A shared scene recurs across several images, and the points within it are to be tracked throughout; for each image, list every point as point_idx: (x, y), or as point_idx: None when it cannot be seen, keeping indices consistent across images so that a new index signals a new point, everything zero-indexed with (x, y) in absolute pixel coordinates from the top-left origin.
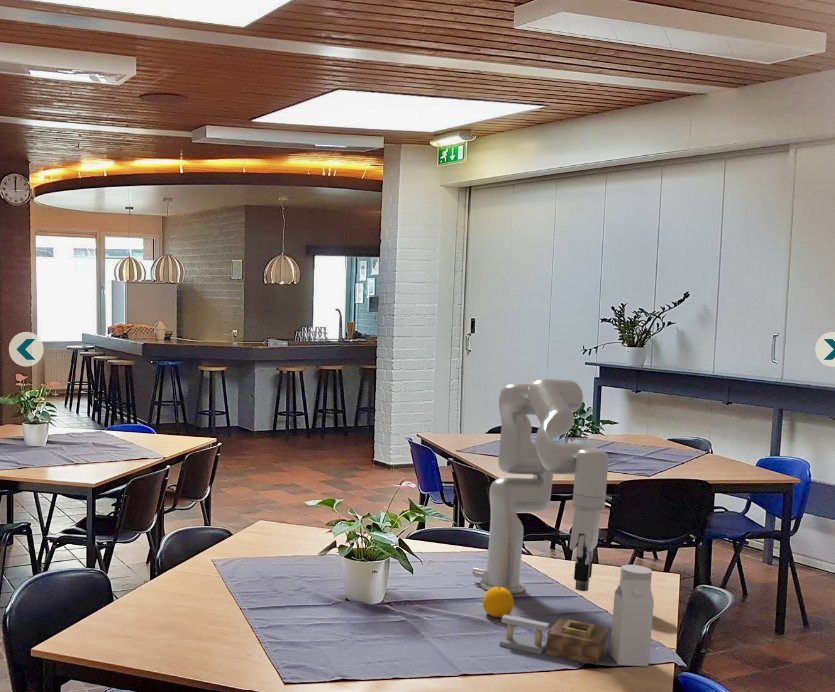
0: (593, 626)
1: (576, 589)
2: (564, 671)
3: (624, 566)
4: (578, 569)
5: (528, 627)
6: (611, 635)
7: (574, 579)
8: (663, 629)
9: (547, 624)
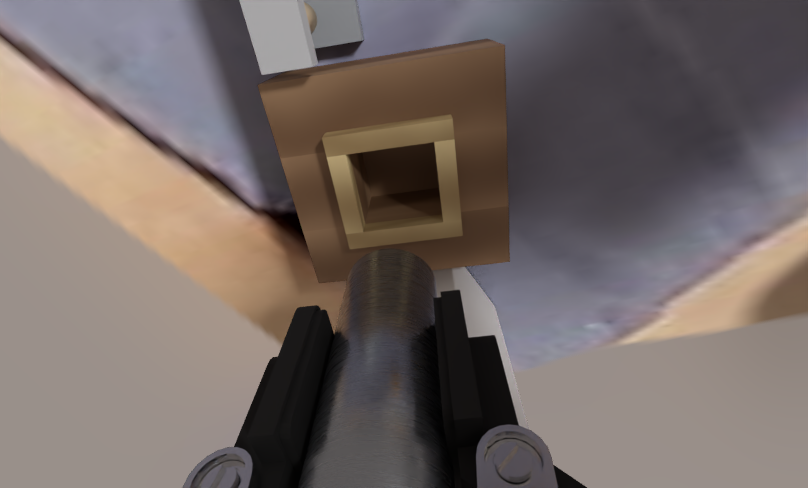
0: (439, 235)
1: (354, 265)
2: (200, 186)
3: None
4: (252, 419)
5: None
6: (449, 283)
7: (301, 308)
8: (789, 303)
9: (290, 65)
